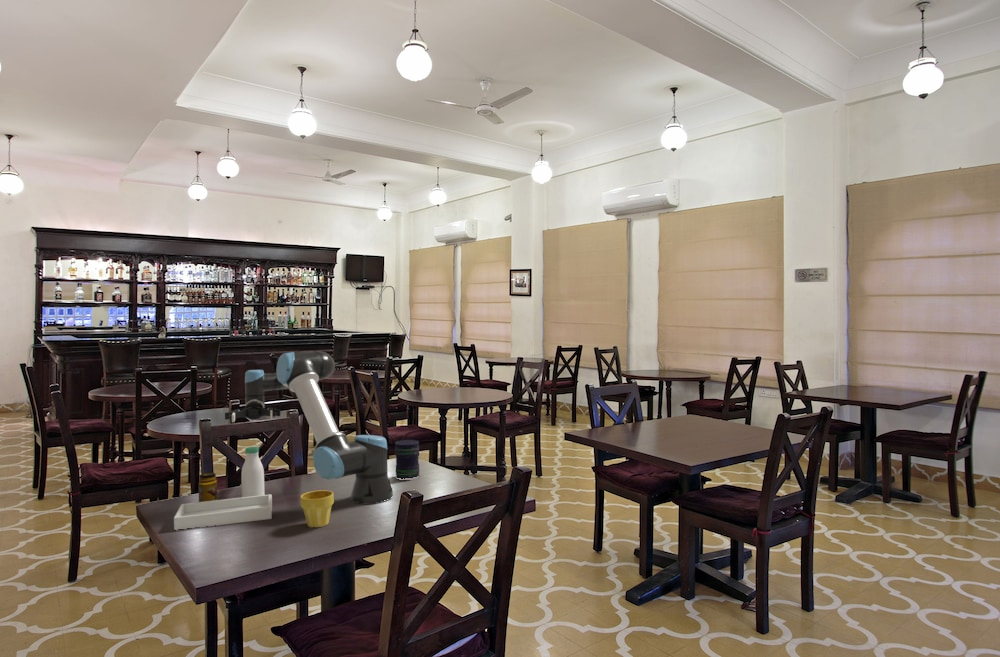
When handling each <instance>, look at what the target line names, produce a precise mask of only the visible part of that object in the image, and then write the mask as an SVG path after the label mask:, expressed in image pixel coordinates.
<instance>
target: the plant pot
mask: <svg viewBox="0 0 1000 657" xmlns="http://www.w3.org/2000/svg"><path fill="white" fill-rule="evenodd" d="M334 499H335V495H334V492H333V491H331V490H325V489H323V490H322V489H320V490H319V489H318V490H313V491H308V492H305V493H302V494H301V495H300V507H301V508H302V509H303V513H304V516H305V520H306V524H307V526H308V527H309V528H313V527H315V528H321V527H325V526H327V525H328V524H329V523H330V517H331V512H332V507H333V504H334V502H335V500H334Z"/></svg>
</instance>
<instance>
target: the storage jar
mask: <svg viewBox="0 0 1000 657" xmlns="http://www.w3.org/2000/svg"><path fill="white" fill-rule="evenodd" d="M419 443H420V442H419V440H416V439H402V440H397V441H395V444H394V445H395V447H394V448H395V449H394V451H395V453H394V454H395V463H396V464H395V476H396V477H397V478H401V479H403V478H404V479H405V478H413V477H417V476H419V477H420V464H419V454H420V452H419V451H420V445H419ZM396 477H395V478H396Z"/></svg>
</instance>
